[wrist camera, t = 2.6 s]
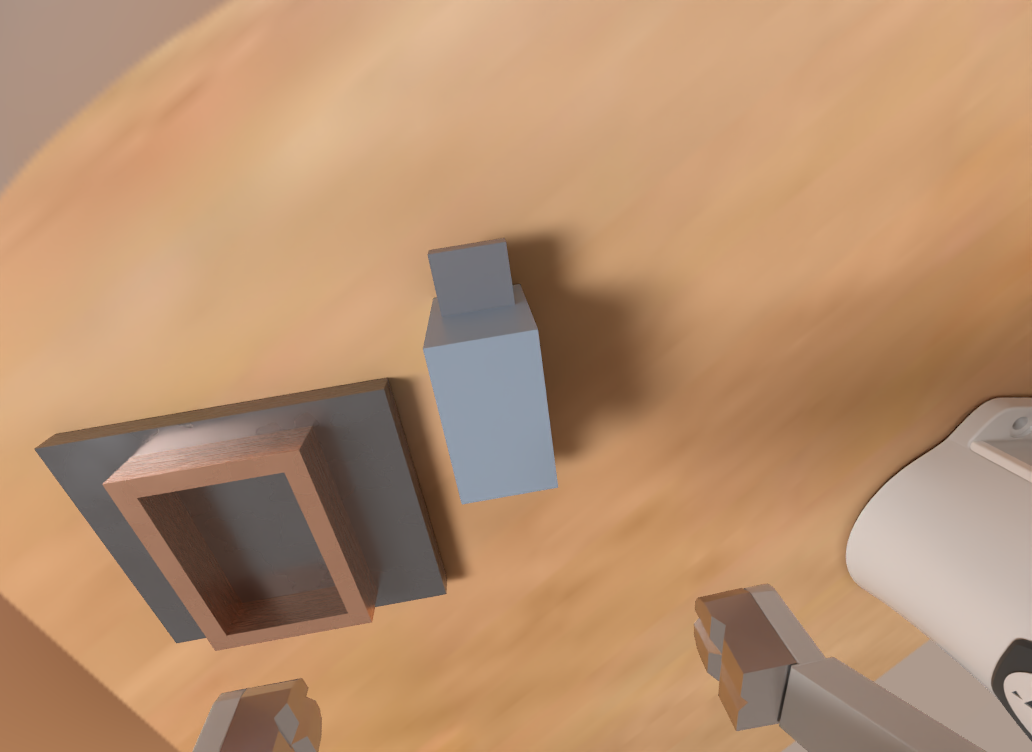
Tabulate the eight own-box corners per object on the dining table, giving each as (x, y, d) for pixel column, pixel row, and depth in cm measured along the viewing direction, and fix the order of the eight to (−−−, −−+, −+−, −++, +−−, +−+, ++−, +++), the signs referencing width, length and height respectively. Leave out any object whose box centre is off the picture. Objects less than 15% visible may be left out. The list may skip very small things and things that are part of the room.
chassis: (387, 377, 23) (376, 411, 20) (446, 577, 29) (445, 624, 26) (54, 434, 23) (-5, 476, 20) (187, 624, 29) (156, 677, 26)
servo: (512, 227, 21) (528, 256, 15) (543, 452, 26) (563, 532, 21) (420, 242, 20) (405, 277, 15) (471, 464, 26) (472, 548, 20)
